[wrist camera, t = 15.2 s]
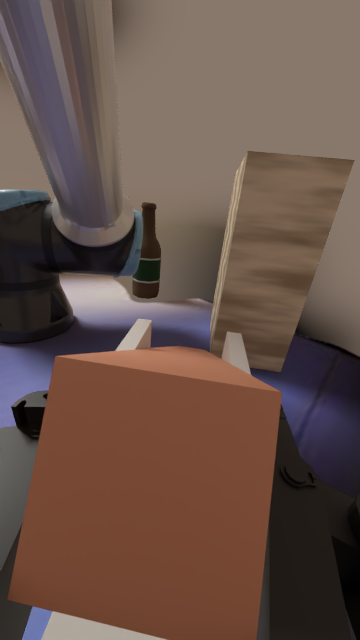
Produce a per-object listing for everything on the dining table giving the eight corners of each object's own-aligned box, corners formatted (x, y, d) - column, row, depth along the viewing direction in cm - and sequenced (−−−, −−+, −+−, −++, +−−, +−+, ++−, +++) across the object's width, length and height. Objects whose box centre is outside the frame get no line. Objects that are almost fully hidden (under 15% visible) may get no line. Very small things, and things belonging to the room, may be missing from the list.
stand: (210, 319, 56) (235, 174, 44) (260, 326, 55) (300, 181, 43) (209, 361, 40) (248, 151, 27) (280, 372, 39) (354, 160, 26)
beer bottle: (163, 293, 70) (170, 205, 60) (149, 301, 63) (154, 202, 53) (142, 288, 73) (144, 202, 62) (126, 294, 66) (126, 200, 56)
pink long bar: (173, 373, 34) (177, 345, 34) (200, 377, 33) (204, 349, 34) (7, 600, 4) (55, 356, 4) (254, 661, 4) (281, 391, 4)
